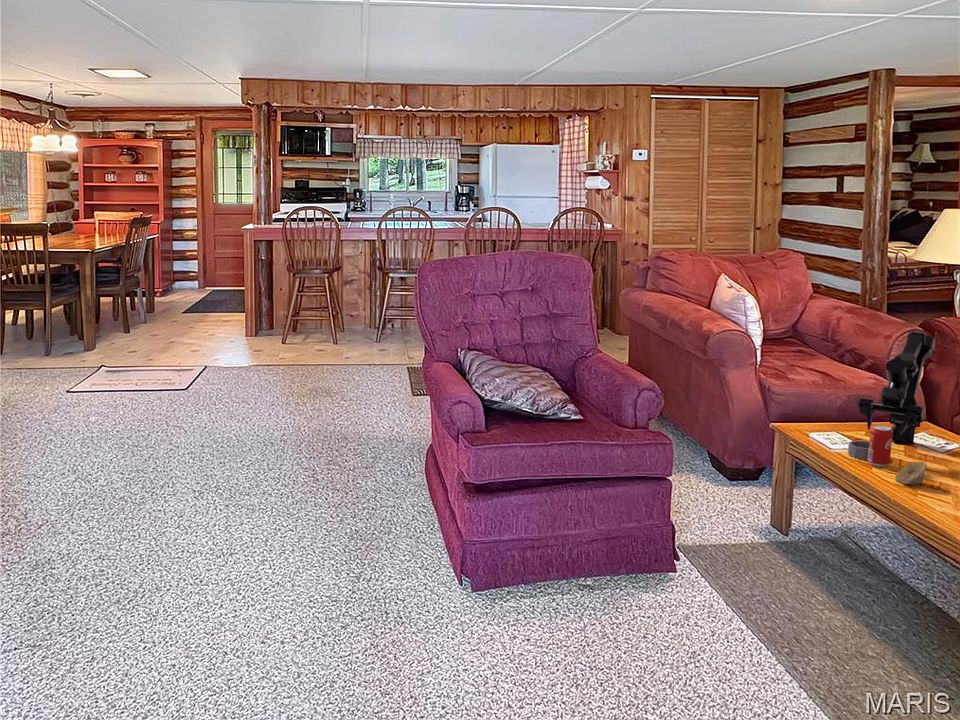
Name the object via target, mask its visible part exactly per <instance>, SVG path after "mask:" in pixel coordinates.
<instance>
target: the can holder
mask: <svg viewBox="0 0 960 720" xmlns="http://www.w3.org/2000/svg"><path fill="white" fill-rule="evenodd" d="M869 443H870V441H866V440H851V441H849V442H848V446H847V455H848V454H849V455H850V456H851V457H850V456H849V455H848V456H849V457H850V458H853V457H855V458H854V459H856V458H859V459H858V460H860V459H864V460H863V461H868V452H869Z"/></svg>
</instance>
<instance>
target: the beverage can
mask: <svg viewBox="0 0 960 720" xmlns="http://www.w3.org/2000/svg"><path fill="white" fill-rule="evenodd" d="M892 437H893V433H892V431H891V427H889V426H885V425H874V426H873V428H872V429H871V430H870V435H869V442H870V443H869V452H868V460H867V462H868V464H870V466H873V467H876V468H885V467H887V466H888V465H889V464H890V463H891V453H892V444H893V441H892Z"/></svg>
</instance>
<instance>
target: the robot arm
mask: <svg viewBox="0 0 960 720" xmlns="http://www.w3.org/2000/svg"><path fill="white" fill-rule="evenodd" d="M935 348H936V339H935V337H933V336H930V335H928V334H927V333H925V332H922V331H910V332H909V333H908V334H907V335H906V340H905V345H904V347H903V349H902V351H901V353H899V354H896V355H895V357H894V358H893V359H890V360H889V361H887V362H886V364H885V370H886V371H885V372H886V375H887V376H886V377H887V381H888V383H887V386H882V389H881V392H880V393H881V394H880V397H881V398H880V402H881V403H882V404H880V403H875V402H874V399H873V398H868V397H861V398H859V400H858V402H857V405H858V410H859V411H858V412H859V413H860V414H861V415H862V414H863V415H862V416H864V417H866V422H867V423H866V424H867V425H866V426H867V431H871V430H870V429H871V426H872V423H873V419H874V412H875V411H879V412H885V413H889V424H890V425H892V426H891V427H890V428H891V431H892V433H893V437H892V443H894V444H897V445H911V446H913V445H915V446H916V443H915V442H914V440H915V439H914V438H915V433H916V428H920V427H921V424H922V423H923V421H924V417H925V414H924V408H923V406H921V405H918V403H917V400H916V397H917V393H918V389H919V386H920V385H919V384H920V380H921V375H922V372H923V368H924V364H925V362H926V360H928V359H929V358H930V357H931V356H932V353H933V351H935Z"/></svg>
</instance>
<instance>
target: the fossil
mask: <svg viewBox="0 0 960 720" xmlns="http://www.w3.org/2000/svg"><path fill="white" fill-rule="evenodd" d="M926 470H927V464H926V462H924V461H918V462H917V461H912V462H910V463H907V464H906V465H905V466H904V467H903V468H902V469H901V470H900V471H899V472H898V473H896V475H895V477H894V478H895V481H896V482H898V483H900V484H902V485H913V486H917V485H919V484H921V483H923V481H924V480H925V473H926Z"/></svg>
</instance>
